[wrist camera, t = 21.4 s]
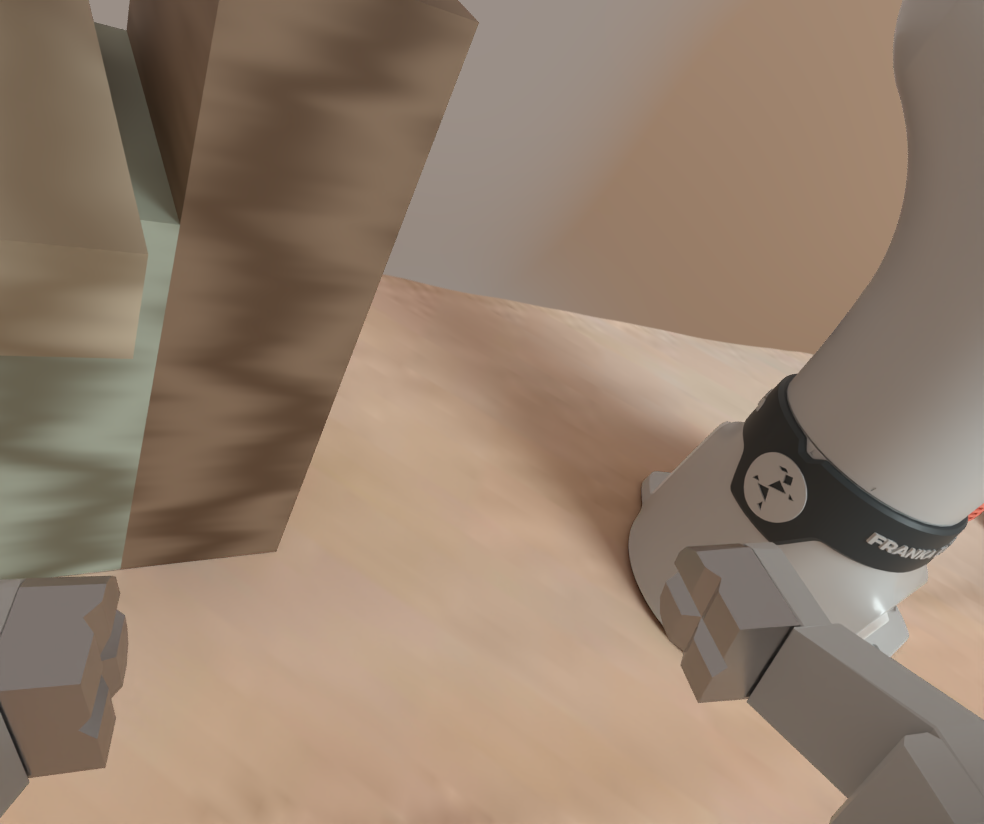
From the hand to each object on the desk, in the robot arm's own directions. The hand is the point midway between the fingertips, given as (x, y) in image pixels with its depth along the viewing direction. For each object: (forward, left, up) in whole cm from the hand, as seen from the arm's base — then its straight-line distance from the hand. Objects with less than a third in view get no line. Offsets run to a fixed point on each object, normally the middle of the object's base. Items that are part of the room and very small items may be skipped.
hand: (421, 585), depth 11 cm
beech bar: (+4, -19, -4) cm, 19 cm away
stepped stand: (0, -23, -22) cm, 32 cm away
